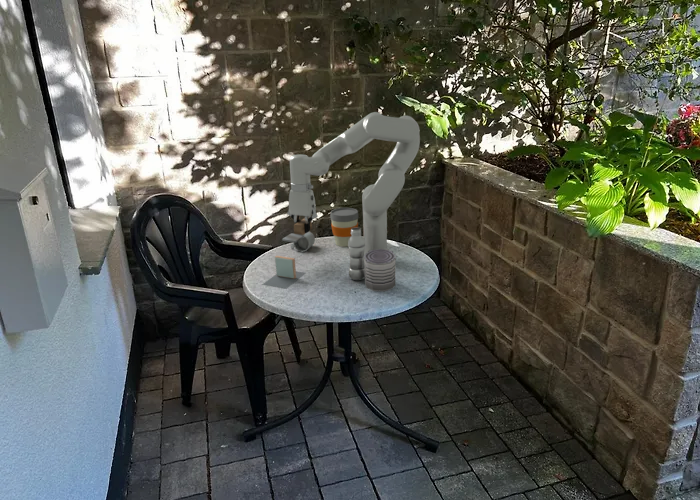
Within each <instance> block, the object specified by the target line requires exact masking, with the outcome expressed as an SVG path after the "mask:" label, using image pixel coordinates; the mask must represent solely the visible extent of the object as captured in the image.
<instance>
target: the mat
mask: <svg viewBox="0 0 700 500" xmlns="http://www.w3.org/2000/svg"><path fill="white" fill-rule="evenodd" d="M305 274H306V272H302V271H297V270H296V278H295V279H293V278H287V277H281V276H277V273H275V275H273V276H271V277H270V278H269V279H268V280H266V281H265V282H263V283H262V284H261V285H263V286H269V287H272V288H273V287H274V288H279V289H285V290H287V289H288V288H289V287H291V285H293V284H294V283H295V282H297V280H299V279H300V278H302V277H303V276H304V275H305Z"/></svg>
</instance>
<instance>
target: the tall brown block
mask: <svg viewBox="0 0 700 500" xmlns="http://www.w3.org/2000/svg"><path fill="white" fill-rule="evenodd" d="M300 220H301V221H299V222H297V223H296V224H295V223H294V224H293V233H290V234H288V235H286V236H285V237H283V238H282V239H281V241H283V242H289V243H293V242H294V243H296V242H298V241H299V240H301V239H302V238H304V237H305V236H304V234H306V233H305V227H304V224H305V217H304V218H302V219H300ZM312 222H313V220H312V221H311V222H310V231H311V230H313V223H312Z"/></svg>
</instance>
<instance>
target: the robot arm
mask: <svg viewBox="0 0 700 500" xmlns="http://www.w3.org/2000/svg"><path fill="white" fill-rule="evenodd" d="M375 139H376V140H381V141H387V142H393V143H396V145H395V147H394V148H393V150H392V152H391V153H390V155H389V156H388V158H387V159H386V160H385V162H384V163H383V165H382V166H381V167H380V169H379V171H378V174H377V175H378V179H377V180H376V181H375V183H374V184H370V185H368V186H367V187H365V188H364V189H363V191H362V197H361V199H362V204H361V206H362V231H363V236H362V237H363V239H364V240H365V249H364V255H365V254H366V253H367V252H368V251H370V250H377V249H385V250H389V251H390V249H389V248H388V235H387V234H388V232H387V231H388V230H387V228H388V217H387V216H388V213H387V212H388V209H389V207H391V206H392V204H393V202H394V201H395V199H396V198H397V197H398V195H399V194H400V192H401V191H402V189H403V187H404V185H405V180H406V176H405V175H406V174H405V173H406V172H407V171H408V169H409V168H410V166H411V164H412V163H413V162H414V159H415V158H416V156H417V154H418V153H419V149H420V145H421V143H420V142H421V137H420V126H419V124H418V122H417V121H416V120H415V119H414V118H413V117H412V116H410V115H402V116H400V117H395V116H394V117H393V116H388V115H383V114H382V113H380V112H378V111H374V112H370V113H369V114H367V115H365V116H364V117H363V118H362V119H360V120H358V121H357V122H356V123H355V124H354V125H352V126H351V127H350V128H348V129H346V130H345V131H343V132H342V133H341V134H340V135H338V136H337V137H335V138H334V139H332V140H331V141H329V142H328V143H327V144H325V145H323V147H321V148H320V149H318V150H317V151H316V152H314V154H312V156H309V155H306V154H294V155H293V154H292V155H291V156H290V158H289V172H290V174H289V175H290V190H289V195H288V210H287V213H286V214H287V215H288V216H289V217H291V219H292V220H293V222H294V224H296V223H297V222H299V221H301V220H302V219H301V217H304V218H305V224H304V227H305V233H307V232H311V230H310V222H311V221H312V222H313V220H315V219H317V218H318V214H317V210H316V209H317V207H316V199H315V196H314V191H313V190H314V185H312V183H311V175H312V176H317V177H319V176H320V177H321V176H324V175H326V174H327V173H328V171H329V169H330V166H331V165H333V164H334V163H335V162H337V161H339V159H341V158H342V157H345V156H347V155H350V154H354V153H356V152H358V151H359V150H360V149H362V148H364V147H365V146H366V145H367V144H369V143H371V142H372V141H374V140H375ZM312 189H313V190H312ZM396 260H397V257H396V258H395V261H396ZM364 265H365V261H364Z"/></svg>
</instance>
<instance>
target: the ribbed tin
mask: <svg viewBox="0 0 700 500" xmlns="http://www.w3.org/2000/svg"><path fill="white" fill-rule="evenodd" d="M395 258H396V259H397V255H396V253H395V252H394V251H393V250H390V249H389V250H385V249H377V250H370V251H368V252H367V253H366V254H365V255H364V261H365V264H364V265H365V277H364V286H365V288H366V289H368V290H369V291H372V292H384V293H385V292H387V291H392V290H393V289H394V288H395V287H396V260H395Z"/></svg>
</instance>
